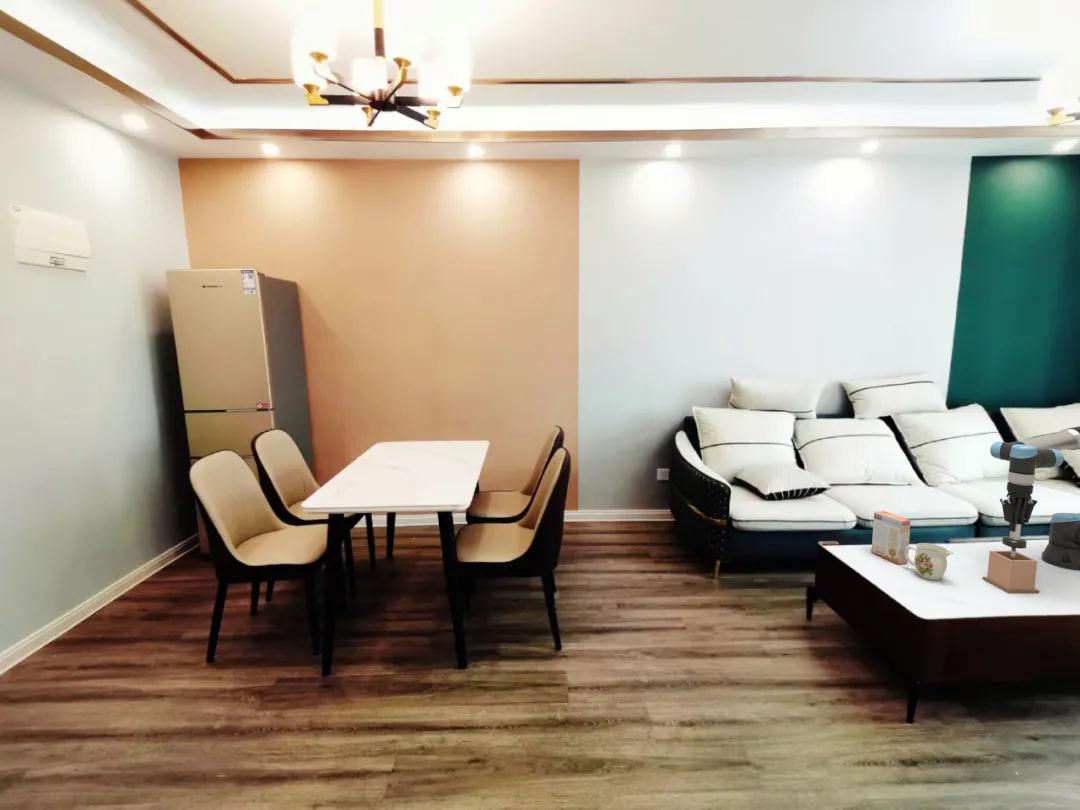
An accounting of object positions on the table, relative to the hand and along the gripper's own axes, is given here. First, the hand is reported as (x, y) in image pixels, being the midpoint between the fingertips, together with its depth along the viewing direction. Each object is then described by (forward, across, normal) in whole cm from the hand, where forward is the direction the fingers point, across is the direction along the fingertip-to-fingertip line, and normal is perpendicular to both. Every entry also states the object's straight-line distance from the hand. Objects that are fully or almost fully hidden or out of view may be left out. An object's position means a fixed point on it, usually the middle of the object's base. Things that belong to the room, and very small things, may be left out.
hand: (1014, 538), depth 199 cm
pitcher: (+21, +27, -9) cm, 35 cm away
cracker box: (+21, +31, -27) cm, 46 cm away
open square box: (+20, 0, 0) cm, 20 cm away
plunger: (+16, 0, 0) cm, 16 cm away
